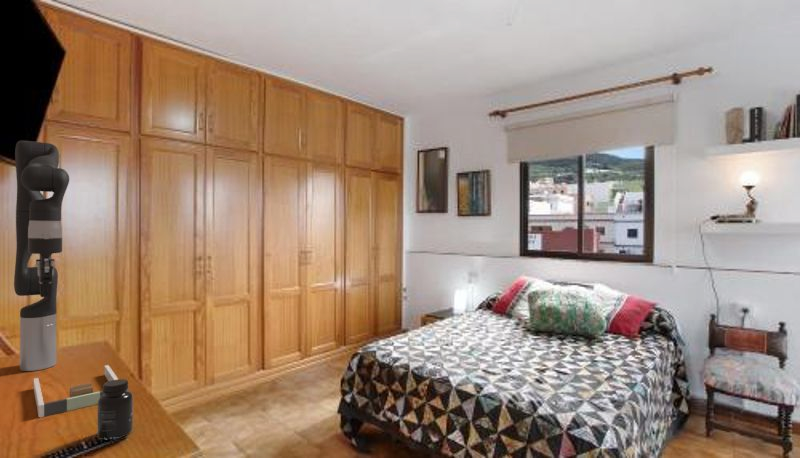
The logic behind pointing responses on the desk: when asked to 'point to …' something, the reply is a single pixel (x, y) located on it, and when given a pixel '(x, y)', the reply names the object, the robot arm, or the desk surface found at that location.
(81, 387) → the walnut block
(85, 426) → the desk surface
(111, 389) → the supplement bottle
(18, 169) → the robot arm
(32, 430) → the desk surface
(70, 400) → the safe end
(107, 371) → the box
